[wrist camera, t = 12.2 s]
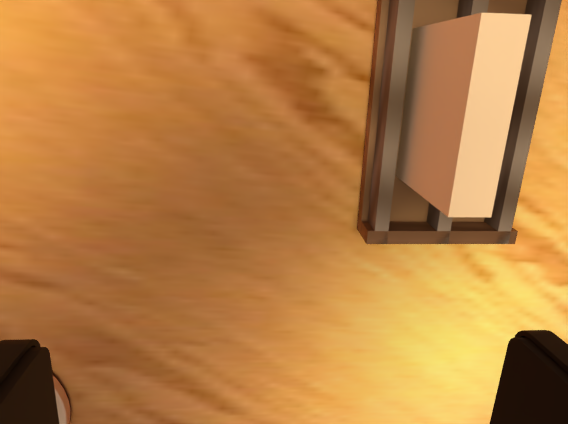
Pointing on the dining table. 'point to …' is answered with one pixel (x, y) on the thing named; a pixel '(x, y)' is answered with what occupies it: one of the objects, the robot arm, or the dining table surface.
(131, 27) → the dining table surface
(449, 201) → the door panel
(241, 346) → the dining table surface
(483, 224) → the dark wooden tray
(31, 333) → the dining table surface
